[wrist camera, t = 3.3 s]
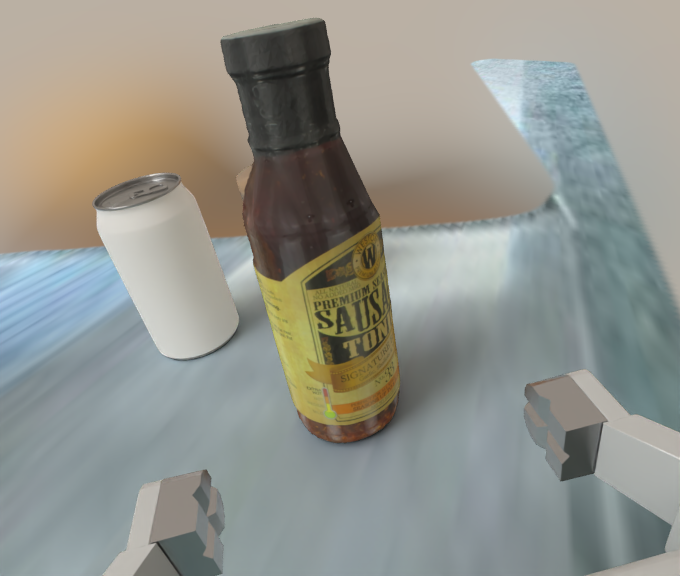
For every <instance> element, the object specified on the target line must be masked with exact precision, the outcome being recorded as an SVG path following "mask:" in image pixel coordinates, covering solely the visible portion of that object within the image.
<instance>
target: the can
mask: <svg viewBox="0 0 680 576" xmlns="http://www.w3.org/2000/svg"><path fill="white" fill-rule="evenodd" d="M92 205H93V207H94V208H95V209H96V210H97V230H98V232H99V235H100V236H101V239H102V241H103V243H104V245H105V247H106V249H107V251H108V253H109V255H110V257H111V259H112V261H113V263H114V265H115V267H116V269H117V271H118V273H119V275H120V277H121V279H122V281H123V283H124V285H125V287H126V288H127V290H128V292H129V294H130V296H131V298H132V300H133V302H134V304H135V306H136V308H137V310H138V312H139V314H140V316H141V318H142V320H143V322H144V324H145V325H146V327H147V329H148V331H149V333H150V335H151V337H152V339H153V341H154V343H155V344H156V346H157V348H158V350H159V351H160V352H161V353H162V354H163V355H164V356H167V357H170V358H173V359H177V360H189V359H195V358H199V357H202V356H205V355H208V354H210V353H212V352H214V351H216V350H217V349H219V348H221V347H222V346H223V345H225V344H226V343H227V342H228V341H229V340H230V339H231V338H232V336H233V335H234V333H235V331H236V329H237V327H238V324H239V316H238V313H237V310H236V307H235V304H234V301H233V298H232V296H231V293H230V290H229V287H228V285H227V282H226V279H225V277H224V274H223V271H222V268H221V266H220V263H219V260H218V258H217V255H216V252H215V249H214V247H213V244H212V241H211V239H210V236H209V234H208V231H207V228H206V225H205V223H204V220H203V217H202V215H201V212H200V210H199V207H198V204H197V202H196V200H195V198H194V196H193V194H192V193H191V192H190V191H189V190H188V189H187V188H186V187H185V186H184V185H183V184H182V183H181V177H180V176H179V175H177V174H174V173H157V174H151V175H147V176H142V177H138V178H135V179H132V180H129V181H126V182H123V183H120V184H118V185H116V186H114V187H111V188H110V189H108V190H106V191H104V192H103V193H101V194H100V195H98V196H97V197H96V198H95V199H94V201H93V203H92Z"/></svg>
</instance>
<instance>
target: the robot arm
mask: <svg viewBox="0 0 680 576" xmlns="http://www.w3.org/2000/svg"><path fill="white" fill-rule="evenodd" d="M525 397H526V398H527V400H528V401H529V402H528V403H527V405H526V406H525V407H524V419H525V423H526V426H527V429H528V431H529V433H530V435H531V437H532V439H533V440H534V442H535V444H536V445H538V446H540V447H542V448H544V449H546V461H547V462H548V464H549V465H550V467H551V468H552V470H553V471H554V473H555V474H556V476H557V477H558V479H559V480H560V482H561V481H565V480H569V479H573V478H577V477H582V476H586V475H590V474H594V473H595V474H594V475H595V476H596V477H598V478H599V479H601V480H602V481H604V482H606V483H607V484H609V485H610V486H612V487H613V488H615V489H616V490H618V491H619V492H621V493H623V494H624V495H626V496H627V497H629V498H630V499H632V500H633V501H635V502H636V503H638V504H639V505H641V506H643V507H644V508H646V509H647V510H649V511H650V512H652V513H653V514H655V515H656V516H658V517H660V518H661V519H663V520H664V521H666V522H667V523H669V524H670V525H672V527H671V530H670V533H669V536H668V539H667V542H666V546H665V551H666V552H667V553H664V554H660V555H657V556H653V557H650V558H646V559H643V560H639V561H635V562H632V563H628V564H625V565H621V566H618V567H614V568H611V569H607V570H603V571H600V572H596V573H593V574H589V575H586V576H680V432H677V431H675V430H673V429H670V428H668V427H666V426H663V425H661V424H659V423H656V422H654V421H652V420H649V419H647V418H644V417H642V416H640V415H637V414H635V415H630V414H629V413H628V412H627V411H626V410H625V409H624V408H623V407H622V406H621V405H620V404H619V402H618V401H617V400H616V399H615V398H614V397H613V396H612V395H611V394H610V393H609V392H608V391H607V390H606V389H605V387H604V386H603V385H602V384H601V383H600V382H599V381H598V380H597V379H596V378H595V377H594V376H593V375H592V374H591V372H590V371H588V370H586V369H583V370H579V371H575V372H571V373H567V374H565V375H563V374H562V375H559V376H555V377H552V378H548V379H544V380H541V381H537V382H533V383H530V384H527V385H526V387H525ZM224 524H225V515H224V507H223V502H222V498H221V495H220V493H219V491H218V489H216V488H214V487H212V486H211V476H210V475H209V473H208V471H207V470H201V471H196V472H192V473H188V474H184V475H179V476H175V477H171V478H167V479H163V480H159V481H155V482H151V483H147V484H143V486H142V487H141V489H140V491H139V494H138V498H137V503H136V507H135V512H134V517H133V521H132V526H131V530H130V535H129V539H128V544H127V548H126V551H123V552H120V553H119V554H118V555H117V557H116V558H115V559H114V561H113V562H112V563H111V565H110V566H109V567H108V569H107V570H106V571H105V572H104V574H103V575H102V576H216V575H220V574H222V572H223V550H224V545H223V544H222V542H221V540H220V538H219V536H220V534H221V532H222V531H223V529H224Z"/></svg>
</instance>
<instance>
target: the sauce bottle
mask: <svg viewBox="0 0 680 576" xmlns="http://www.w3.org/2000/svg"><path fill="white" fill-rule="evenodd" d="M221 47H222V52H223V55H224V62H225V66H226V70H227V72H228V74H229V75H230V76H231V78H232V79H233V80H234V82H235V83H236V86H237V89H238V94H239V97H240V101H241V104H242V111H243V115H244V118H245V121H246V125H247V130H248V133H249V137H248V143H249V145H250V147H251V149H252V152H253V156H254V163H253V165H252V169H251V172H250V174H249V178H248V180H247V184H246V186H245V189H244V200H243V213H242V214H243V220H244V226H245V229H246V232H247V236H248V238H249V241H250V245H251V249H252V252H253V256H254V259H253V265H254V268H255V272H256V275H257V279H258V282H259V285H260V289H261V292H262V296H263V299H264V303H265V306H266V310H267V313H268V317H269V320H270V323H271V327H272V331H273V334H274V338H275V342H276V345H277V349H278V353H279V356H280V359H281V363H282V366H283V370H284V373H285V377H286V380H287V384H288V387H289V390H290V394H291V397H292V400H293V403H294V405H295V406H296V408H297V412H298V415H299V418H300V419H301V420H302V422H303V424H304V425H305V427H306V428H307V429H308V430H309V431H310V432H311V434H314V435H316V436H317V437H318V438H321V439H324V440H326V441H330V442H334V443H342V442H343V443H347V442H354V441H358V440H361V439H363V438H366V437H369V436H370V435H373V434H375V433H376V432H378V431H379V430H381V429H383V428H384V426H385V425H386V424H388V423H389V422H390V421H391V420H392V417H393V415H394V413H395V410H396V406H397V403H398V396H399V387H400V374H399V366H398V357H397V349H396V342H395V334H394V327H393V319H392V309H391V300H390V294H389V286H388V277H387V269H386V263H385V256H384V247H383V239H382V230H381V222H380V216H379V213H378V212H377V210H376V208H375V206H374V205H373V203H372V201H371V199H370V197H369V195H368V193H367V191H366V189H365V187H364V185H363V182H362V180H361V178H360V176H359V174H358V172H357V170H356V168H355V166H354V163H353V161H352V159H351V157H350V155H349V153H348V151H347V148H346V146H345V144H344V142H343V140H342V138H341V136H340V125H339V122H338V120H337V118H336V114H335V108H334V102H333V95H332V89H331V84H330V77H329V69H328V68H329V67H328V66H329V58H330V55H331V50H330V45H329V40H328V36H327V30H326V24H325V21H324V20H322V19H320V18H310V19H304V20H298V21H293V22H288V23H283V24H274V25H270V26H265V27H260V28H255V29H251V30H246V31H242V32H238V33H234V34H231V35H227V36H223V37H222V39H221Z"/></svg>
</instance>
